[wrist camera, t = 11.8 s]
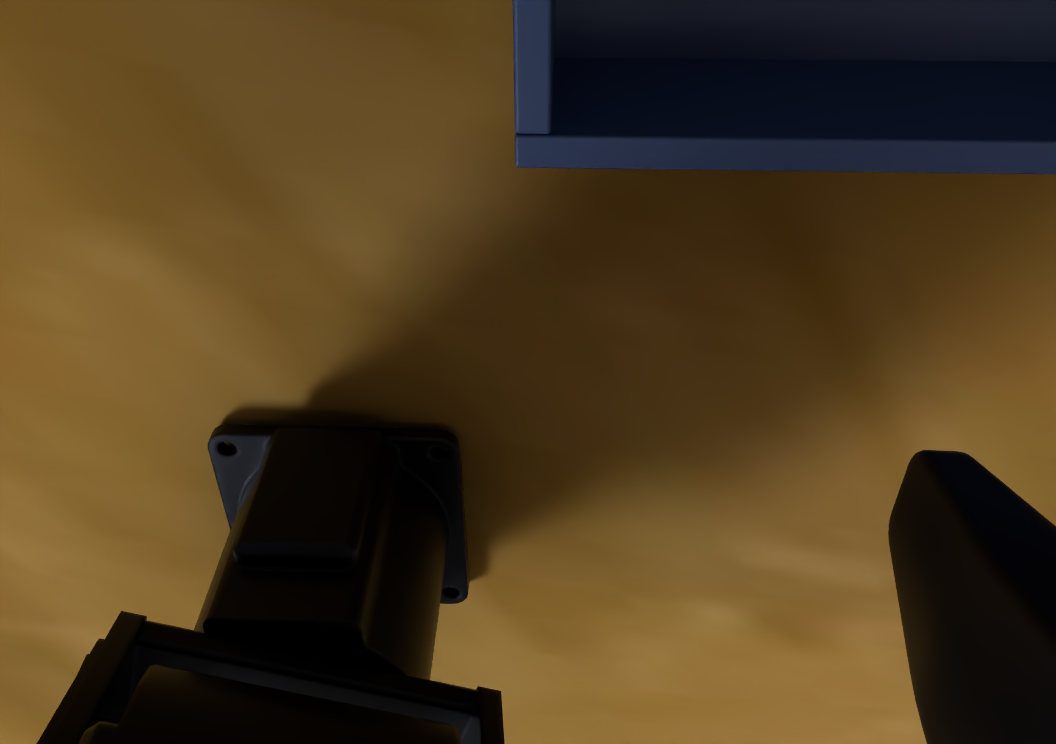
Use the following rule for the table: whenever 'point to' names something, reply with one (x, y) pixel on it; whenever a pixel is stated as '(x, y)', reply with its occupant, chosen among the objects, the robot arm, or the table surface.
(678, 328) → the table surface
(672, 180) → the table surface
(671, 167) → the bottom bin
